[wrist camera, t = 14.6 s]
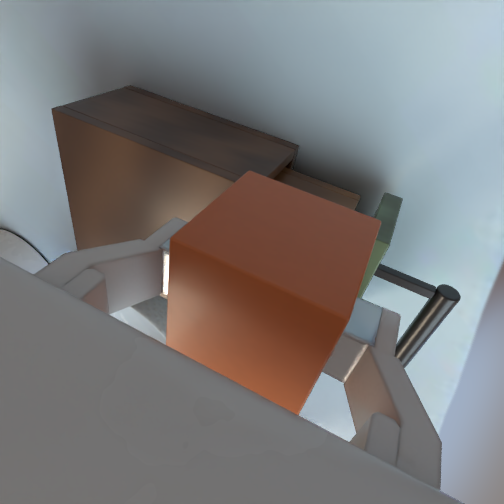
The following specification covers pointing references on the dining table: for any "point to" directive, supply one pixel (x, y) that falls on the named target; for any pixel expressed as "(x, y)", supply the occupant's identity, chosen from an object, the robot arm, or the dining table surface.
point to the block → (266, 285)
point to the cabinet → (151, 162)
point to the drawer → (387, 213)
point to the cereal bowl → (147, 317)
